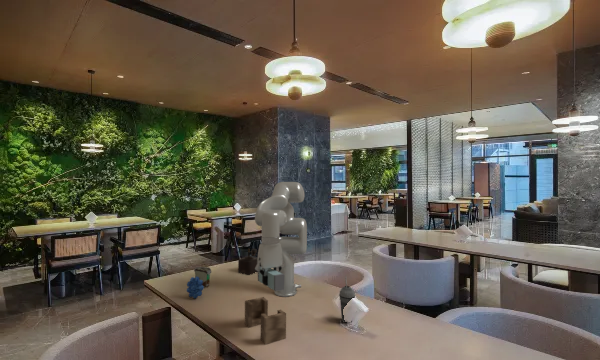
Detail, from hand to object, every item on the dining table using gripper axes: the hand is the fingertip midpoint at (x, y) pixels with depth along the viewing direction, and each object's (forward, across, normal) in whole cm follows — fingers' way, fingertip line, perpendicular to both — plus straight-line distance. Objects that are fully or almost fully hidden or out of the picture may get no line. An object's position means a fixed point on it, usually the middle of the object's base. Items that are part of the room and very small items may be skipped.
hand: (270, 283), depth 133 cm
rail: (+1, 0, 0) cm, 1 cm away
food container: (+20, +6, -74) cm, 76 cm away
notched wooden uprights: (+19, +2, 0) cm, 20 cm away
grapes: (+20, +16, -54) cm, 59 cm away
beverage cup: (+20, -33, +11) cm, 40 cm away
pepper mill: (+19, -28, -82) cm, 89 cm away
